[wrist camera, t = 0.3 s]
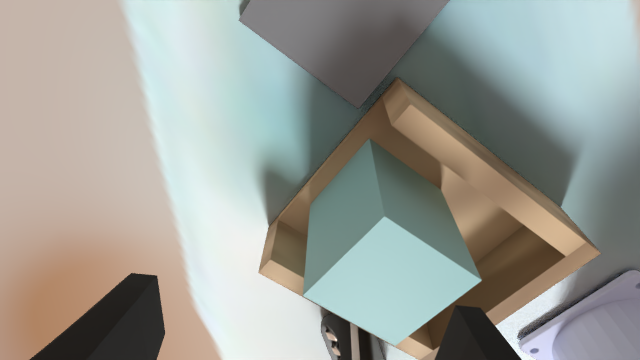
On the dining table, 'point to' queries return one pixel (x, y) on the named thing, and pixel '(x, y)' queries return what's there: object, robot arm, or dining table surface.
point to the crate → (465, 205)
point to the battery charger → (349, 340)
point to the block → (384, 247)
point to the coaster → (343, 37)
